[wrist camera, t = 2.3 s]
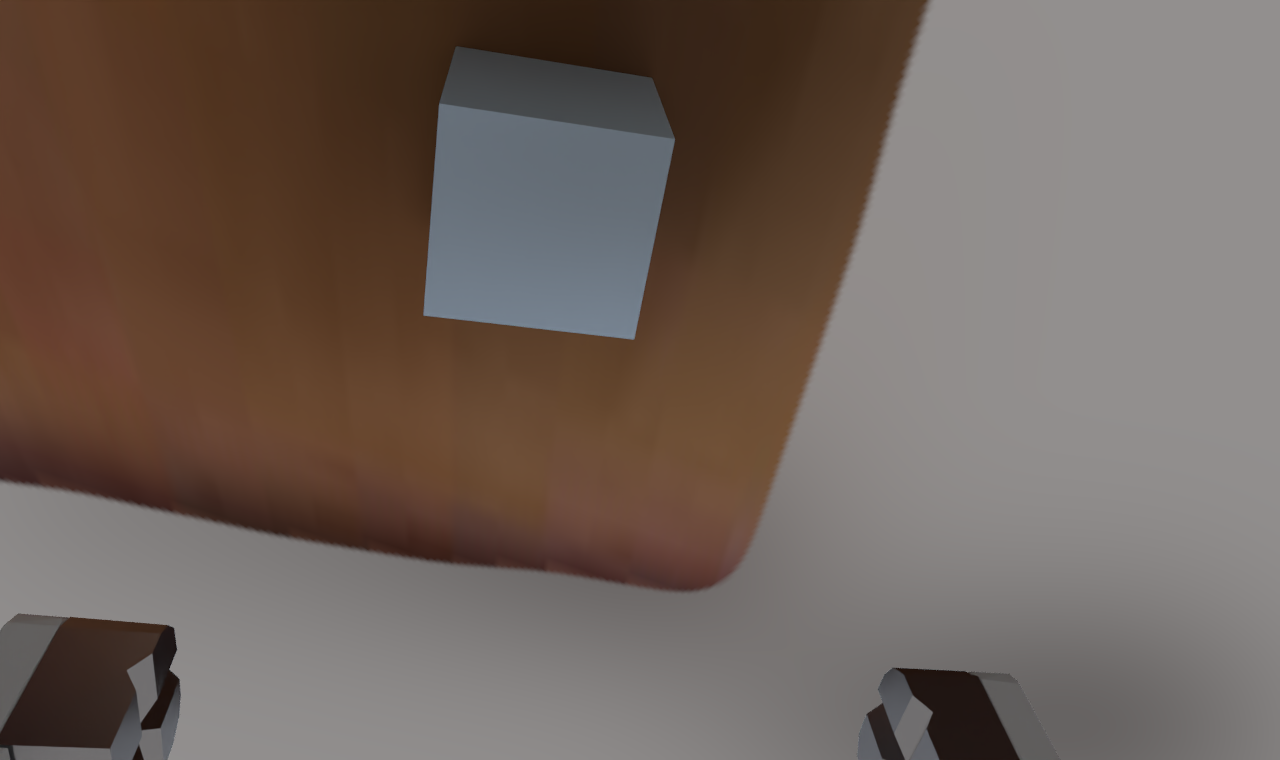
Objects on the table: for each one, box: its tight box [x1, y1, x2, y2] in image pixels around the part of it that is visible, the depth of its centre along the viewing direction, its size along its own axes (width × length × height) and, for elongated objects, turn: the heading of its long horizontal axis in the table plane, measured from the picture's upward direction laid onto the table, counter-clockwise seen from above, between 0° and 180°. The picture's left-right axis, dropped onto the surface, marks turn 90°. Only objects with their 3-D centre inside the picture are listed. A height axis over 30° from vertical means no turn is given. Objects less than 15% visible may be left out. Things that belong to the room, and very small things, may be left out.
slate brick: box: [423, 46, 675, 340], centre depth 24 cm, size 5×5×5 cm
